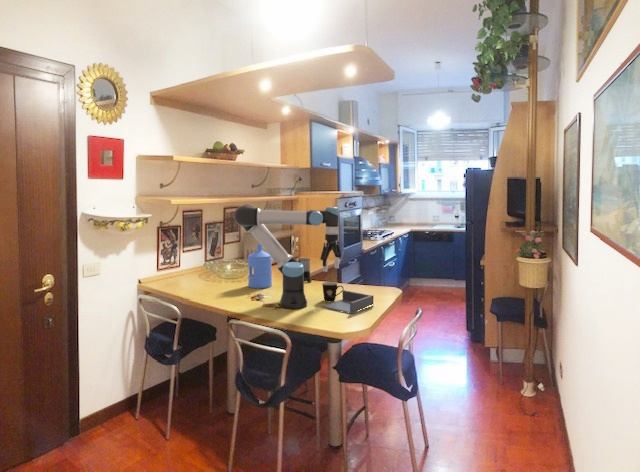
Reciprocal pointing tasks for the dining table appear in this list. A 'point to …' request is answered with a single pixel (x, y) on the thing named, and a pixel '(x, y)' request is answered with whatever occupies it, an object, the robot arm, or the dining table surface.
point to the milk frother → (306, 268)
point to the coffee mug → (330, 290)
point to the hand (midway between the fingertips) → (330, 269)
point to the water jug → (260, 269)
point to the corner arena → (351, 302)
